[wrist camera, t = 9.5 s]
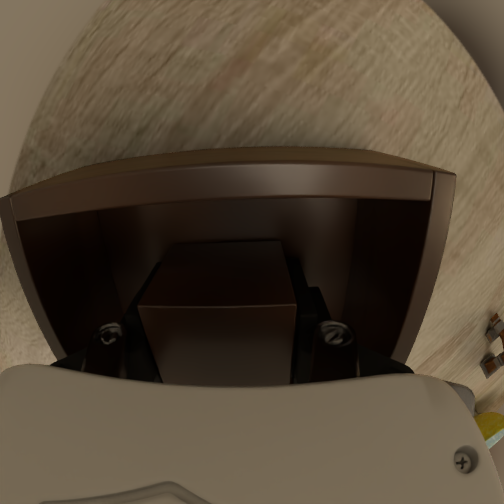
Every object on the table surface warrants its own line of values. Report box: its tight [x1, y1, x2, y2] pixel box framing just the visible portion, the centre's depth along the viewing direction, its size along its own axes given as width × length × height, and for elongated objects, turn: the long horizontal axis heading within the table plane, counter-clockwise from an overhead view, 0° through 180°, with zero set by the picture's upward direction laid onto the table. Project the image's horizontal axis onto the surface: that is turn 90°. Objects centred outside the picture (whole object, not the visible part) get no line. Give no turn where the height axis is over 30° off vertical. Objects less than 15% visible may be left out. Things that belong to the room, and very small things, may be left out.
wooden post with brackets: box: [480, 313, 504, 378], centre depth 14 cm, size 2×8×4 cm, turn 34°
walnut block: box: [137, 241, 297, 386], centre depth 10 cm, size 4×4×4 cm
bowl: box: [474, 411, 504, 449], centre depth 20 cm, size 11×12×6 cm
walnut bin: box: [0, 146, 456, 384], centre depth 10 cm, size 13×12×6 cm
